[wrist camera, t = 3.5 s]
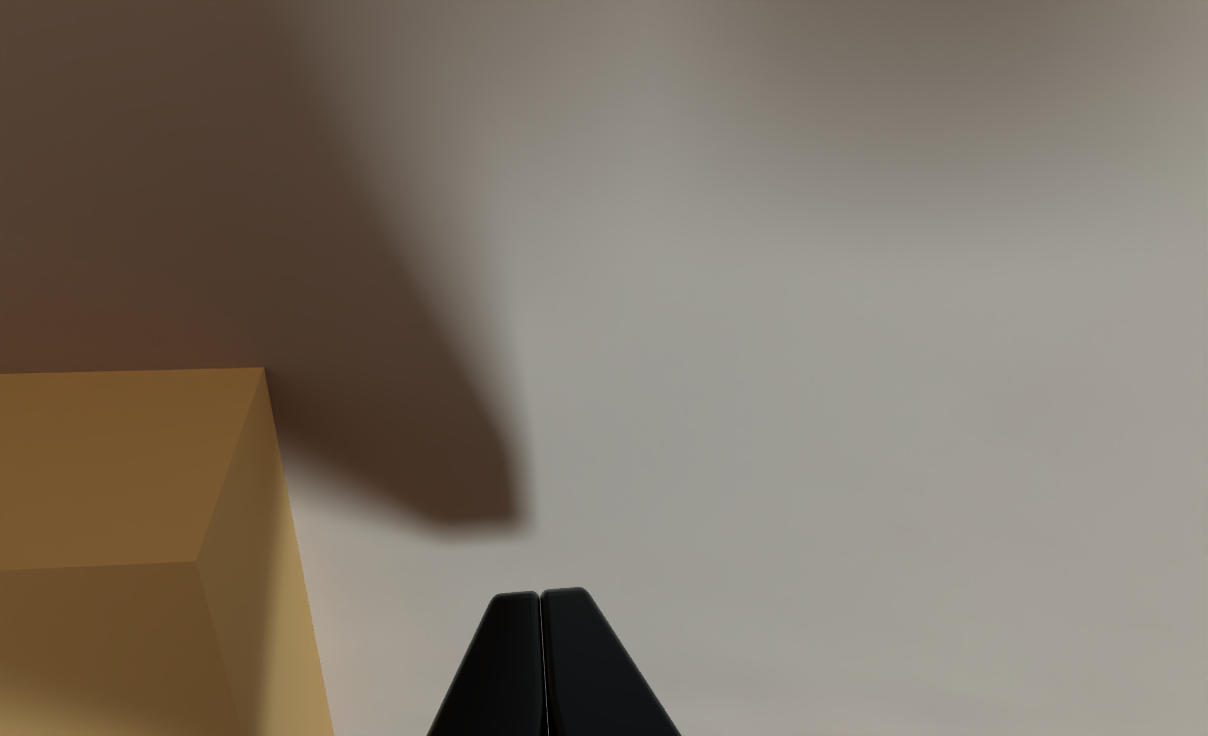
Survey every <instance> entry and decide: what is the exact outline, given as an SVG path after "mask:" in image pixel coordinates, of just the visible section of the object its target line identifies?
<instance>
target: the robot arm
mask: <svg viewBox="0 0 1208 736" xmlns="http://www.w3.org/2000/svg"><path fill="white" fill-rule="evenodd" d="M540 603H541V612H540ZM541 619H542V628H541ZM542 635H543V644H542ZM543 650H544V659H543ZM544 666H545V675H544ZM545 682H546V690H545ZM546 697H547V706H546ZM547 713H548V722H547ZM548 728H549V736H681V734H680V733H679V731H678V729H677V728H676V726H675V725H674V723H673V722H672V720H671V719H670V717H669V716H668V714H667V712H666V711H665V709H664V708H663V706H662V705H661V703H660V702H659V700H658V699H657V697H656V696H655V694H654V692H653V691H652V689H651V688H650V686H649V685H648V683H647V682H646V680H645V679H644V677H643V675H642V674H641V672H640V671H639V669H638V668H637V666H636V665H635V663H634V662H633V660H632V658H631V657H630V655H629V654H628V652H627V651H626V649H625V648H624V646H623V645H622V643H621V642H620V640H619V638H618V637H617V635H616V634H615V632H614V631H613V629H612V628H611V626H610V625H609V623H608V621H607V620H606V618H605V617H604V615H603V614H602V612H601V611H600V609H599V608H598V606H597V604H596V603H595V601H594V600H593V598H592V597H591V595H590V594H589V593H588V592H587V591H586V590H585V589H584V588H582V587H572V588H560V589H548V590H545V591H544V592H542V594H541V596H540V598H539V595H538V594H537V593H536V592H534V591H524V592H512V593H501V594H497V595H495V596H494V597H493V598H492V600H491V601H490V603H489V605H488V607H487V609H486V611H485V613H484V615H483V617H482V620H481V622H480V624H479V626H478V628H477V630H476V632H475V634H474V636H473V639H472V641H471V643H470V645H469V647H468V649H467V651H466V653H465V656H464V658H463V660H462V662H461V664H460V666H459V668H458V670H457V672H456V675H455V677H454V679H453V681H452V683H451V685H450V687H449V689H448V691H447V694H446V696H445V698H444V700H443V702H442V704H441V706H440V708H439V710H438V713H437V715H436V717H435V719H434V721H433V723H432V725H431V727H430V730H429V732H428V734H427V736H548Z"/></svg>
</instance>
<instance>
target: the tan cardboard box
mask: <svg viewBox="0 0 1208 736" xmlns="http://www.w3.org/2000/svg"><path fill="white" fill-rule="evenodd" d="M0 736H334V734H333V729H332V723H331V718H330V713H329V708H328V702H327V697H326V692H325V686H324V681H323V676H322V671H321V665H320V660H319V655H318V650H317V644H316V639H315V634H314V629H313V623H312V618H311V613H310V607H309V602H308V597H307V592H306V586H305V581H304V576H303V571H302V565H301V560H300V555H299V550H298V544H297V539H296V534H295V529H294V523H293V518H292V513H291V507H290V502H289V497H288V492H287V486H286V481H285V476H284V471H283V465H282V460H281V455H280V450H279V444H278V439H277V434H276V429H275V423H274V418H273V413H272V407H271V402H270V397H269V392H268V386H267V381H266V376H265V371H264V367H258V368H217V369H176V370H135V371H94V372H53V373H11V374H0Z"/></svg>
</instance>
